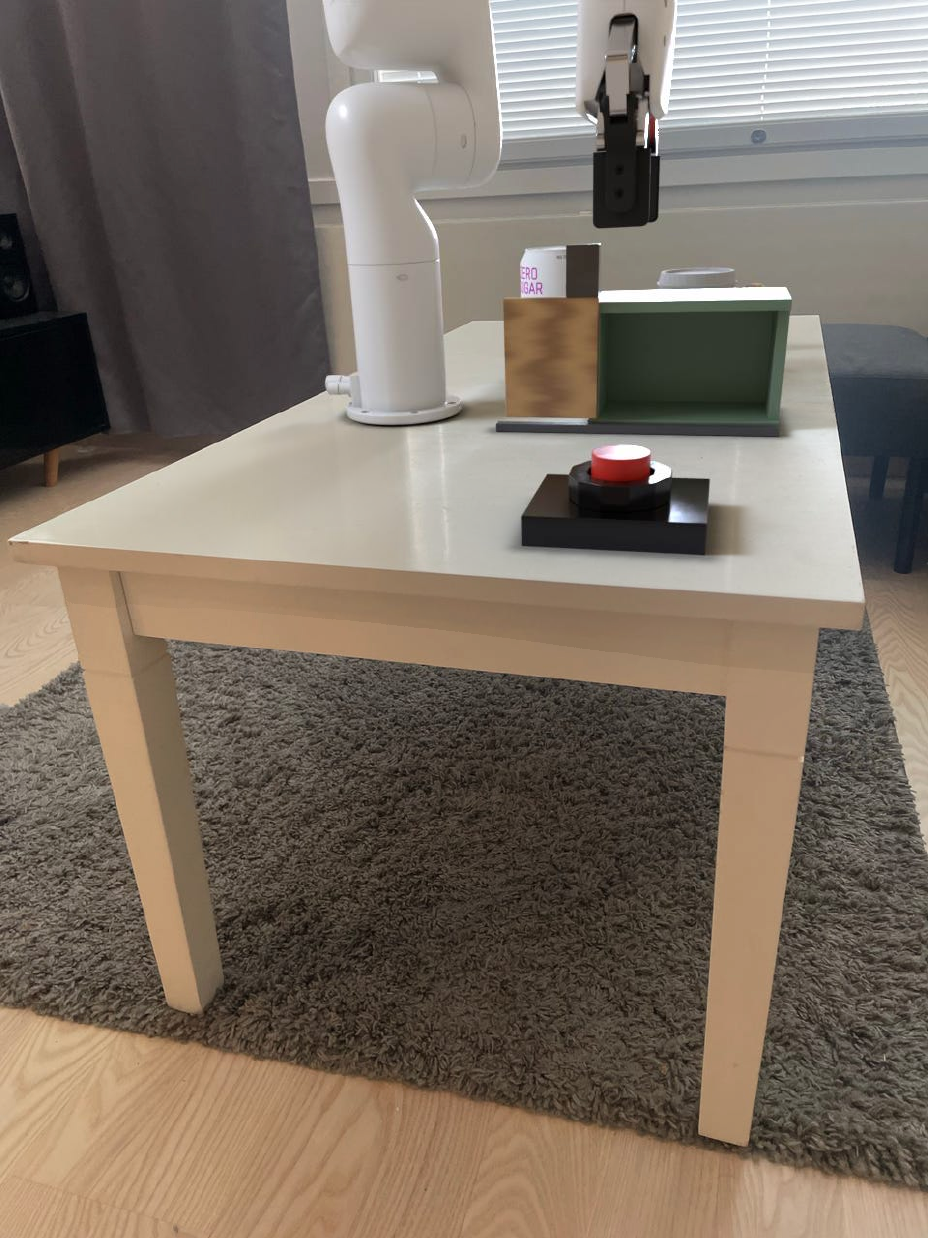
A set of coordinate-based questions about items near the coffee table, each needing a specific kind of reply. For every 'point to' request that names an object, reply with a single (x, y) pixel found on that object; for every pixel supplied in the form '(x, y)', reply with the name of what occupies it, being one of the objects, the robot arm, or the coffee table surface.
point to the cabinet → (686, 363)
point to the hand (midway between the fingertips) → (627, 224)
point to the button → (620, 463)
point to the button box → (619, 513)
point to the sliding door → (556, 344)
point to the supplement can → (543, 272)
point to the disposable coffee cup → (697, 278)
